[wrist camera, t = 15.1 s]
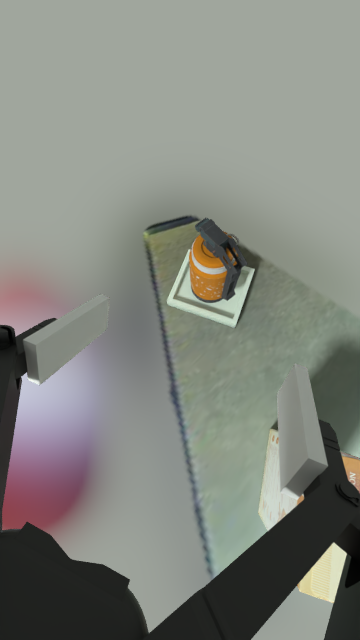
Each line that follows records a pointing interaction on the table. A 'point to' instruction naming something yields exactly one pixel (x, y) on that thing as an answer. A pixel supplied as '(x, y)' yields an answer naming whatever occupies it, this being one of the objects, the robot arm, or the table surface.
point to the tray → (215, 311)
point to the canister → (214, 263)
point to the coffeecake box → (278, 505)
